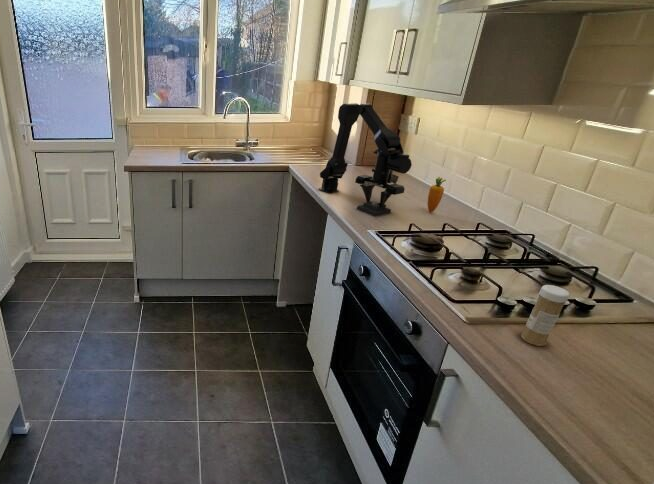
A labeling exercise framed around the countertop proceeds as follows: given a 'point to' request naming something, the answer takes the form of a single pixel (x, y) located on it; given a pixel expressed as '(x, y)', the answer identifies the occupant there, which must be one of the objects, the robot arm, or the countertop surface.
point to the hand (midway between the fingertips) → (374, 204)
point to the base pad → (373, 212)
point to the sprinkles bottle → (544, 314)
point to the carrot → (435, 195)
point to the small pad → (373, 206)
